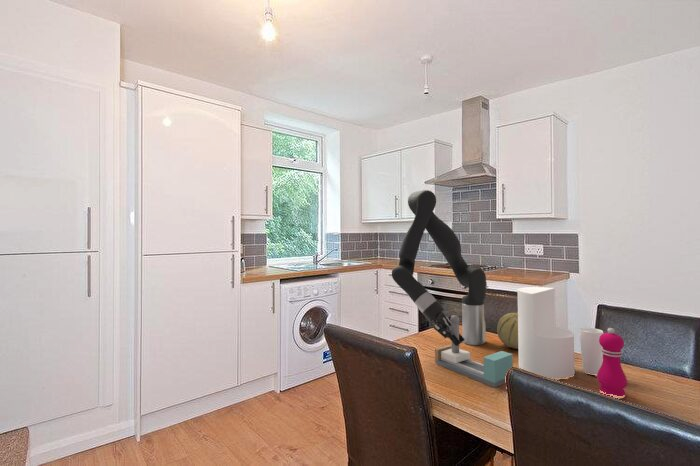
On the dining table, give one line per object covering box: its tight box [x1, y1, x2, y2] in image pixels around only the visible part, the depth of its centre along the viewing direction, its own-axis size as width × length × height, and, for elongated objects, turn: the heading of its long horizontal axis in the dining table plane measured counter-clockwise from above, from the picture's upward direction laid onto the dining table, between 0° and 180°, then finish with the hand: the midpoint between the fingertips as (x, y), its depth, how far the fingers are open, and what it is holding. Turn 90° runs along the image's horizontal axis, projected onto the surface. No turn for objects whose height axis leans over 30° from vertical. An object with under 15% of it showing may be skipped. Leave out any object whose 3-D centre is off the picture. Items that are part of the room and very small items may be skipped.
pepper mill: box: [596, 327, 628, 400], centre depth 104 cm, size 7×7×20 cm
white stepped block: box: [517, 286, 576, 381], centre depth 123 cm, size 17×17×28 cm
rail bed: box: [434, 343, 514, 388], centre depth 123 cm, size 10×25×8 cm, turn 33°
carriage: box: [441, 314, 471, 363], centre depth 129 cm, size 8×7×16 cm
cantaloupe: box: [496, 312, 518, 350], centre depth 146 cm, size 15×15×15 cm
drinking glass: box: [579, 327, 604, 374], centre depth 119 cm, size 7×7×15 cm
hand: (460, 342), depth 128 cm, fingers open, 3 cm apart
